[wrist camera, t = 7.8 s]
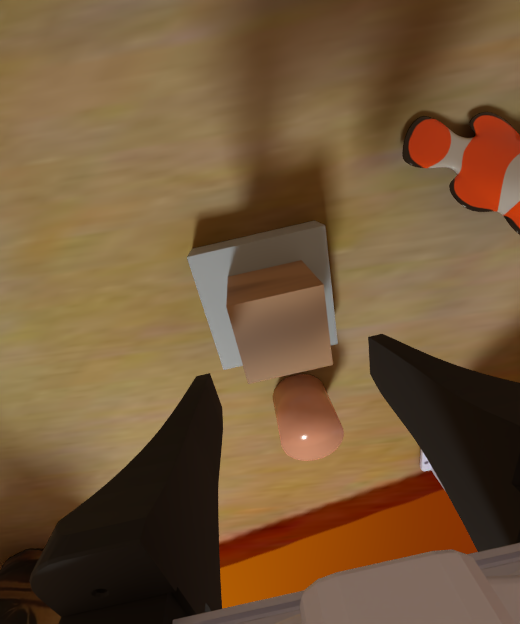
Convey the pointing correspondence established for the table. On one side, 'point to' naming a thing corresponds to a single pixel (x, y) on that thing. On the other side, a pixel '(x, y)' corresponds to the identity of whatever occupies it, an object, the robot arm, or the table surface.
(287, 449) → the terracotta cylinder
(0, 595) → the ceramic jug
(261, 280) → the walnut cube
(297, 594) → the robot arm
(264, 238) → the slate slab
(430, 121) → the fish
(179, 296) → the table surface
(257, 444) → the table surface
